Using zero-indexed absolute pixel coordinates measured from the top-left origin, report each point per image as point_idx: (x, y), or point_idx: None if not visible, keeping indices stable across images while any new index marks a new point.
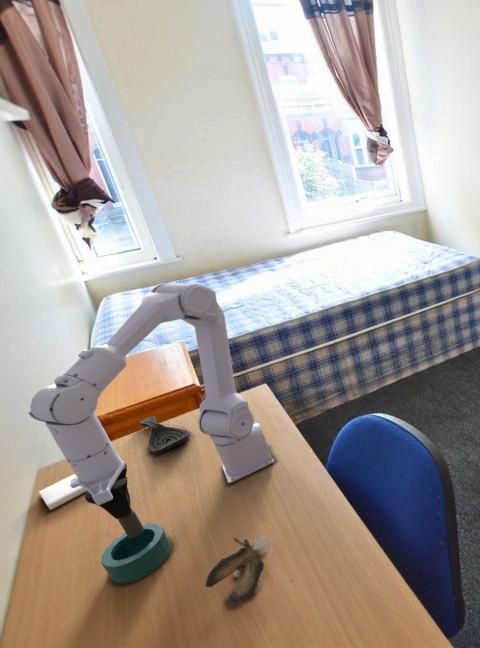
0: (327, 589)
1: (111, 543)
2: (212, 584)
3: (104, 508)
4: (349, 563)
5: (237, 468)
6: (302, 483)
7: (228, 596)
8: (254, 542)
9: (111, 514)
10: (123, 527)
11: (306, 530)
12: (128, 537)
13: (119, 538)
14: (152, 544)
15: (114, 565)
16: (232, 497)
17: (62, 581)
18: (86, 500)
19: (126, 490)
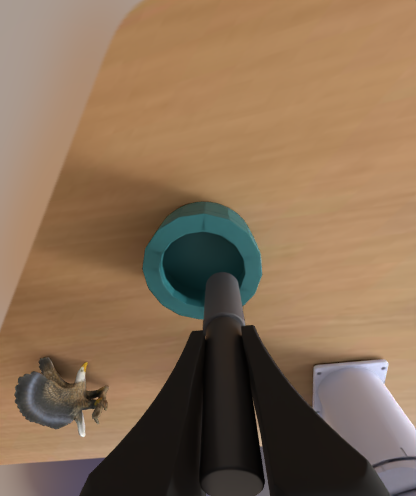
0: (26, 426)
1: (238, 228)
2: (31, 376)
3: (161, 389)
4: (53, 444)
5: (327, 398)
6: None
7: (49, 360)
8: (78, 428)
9: (183, 350)
10: (210, 297)
11: (127, 424)
12: (214, 274)
13: (244, 243)
14: (174, 306)
15: (150, 246)
16: None
17: (251, 93)
18: (92, 489)
19: (257, 418)
